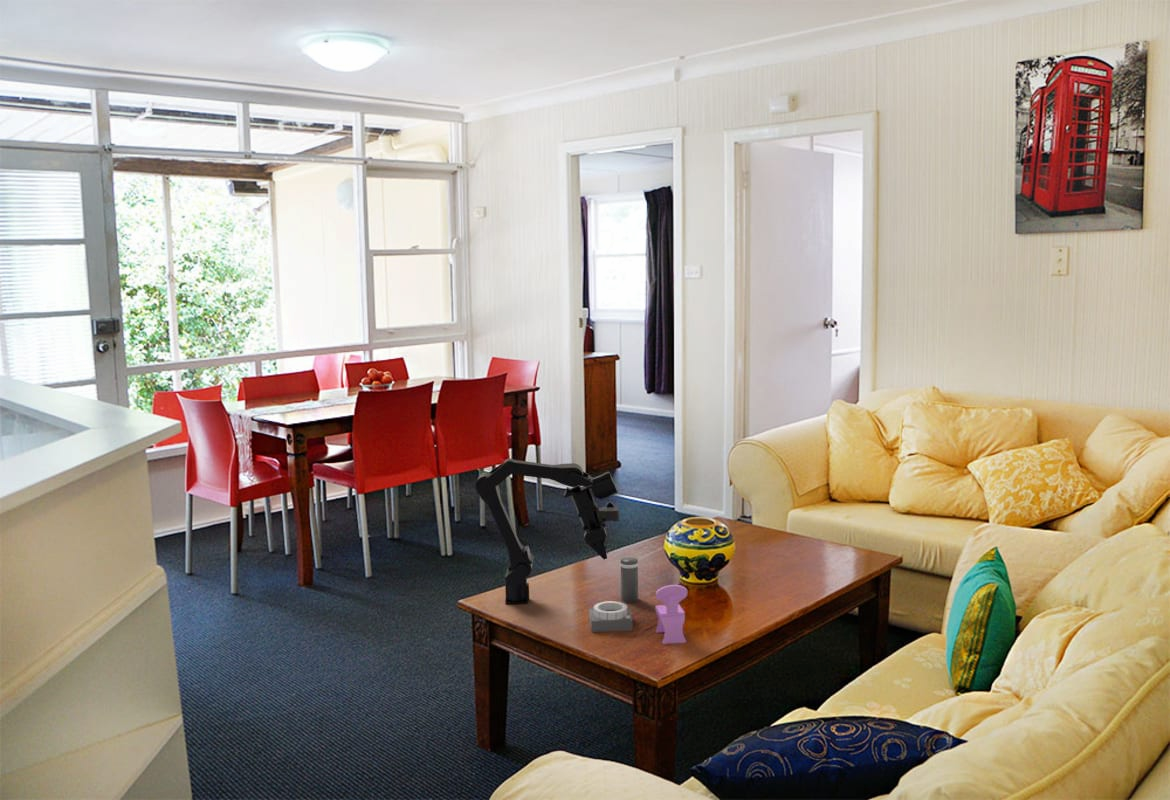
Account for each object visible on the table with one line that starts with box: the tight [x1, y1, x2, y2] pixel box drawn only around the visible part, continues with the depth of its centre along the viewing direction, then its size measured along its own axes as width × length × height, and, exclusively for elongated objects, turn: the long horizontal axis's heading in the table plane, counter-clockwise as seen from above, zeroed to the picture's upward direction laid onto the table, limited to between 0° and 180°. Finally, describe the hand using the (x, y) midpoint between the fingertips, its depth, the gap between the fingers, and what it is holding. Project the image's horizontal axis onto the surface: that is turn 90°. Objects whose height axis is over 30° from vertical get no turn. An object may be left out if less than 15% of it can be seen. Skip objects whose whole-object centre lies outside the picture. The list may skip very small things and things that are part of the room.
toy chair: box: [654, 584, 688, 645], centre depth 249 cm, size 8×9×15 cm
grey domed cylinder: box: [619, 557, 639, 604], centre depth 277 cm, size 5×5×12 cm
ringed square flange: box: [588, 600, 634, 633], centre depth 258 cm, size 11×10×5 cm
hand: (605, 554), depth 278 cm, fingers open, 9 cm apart
